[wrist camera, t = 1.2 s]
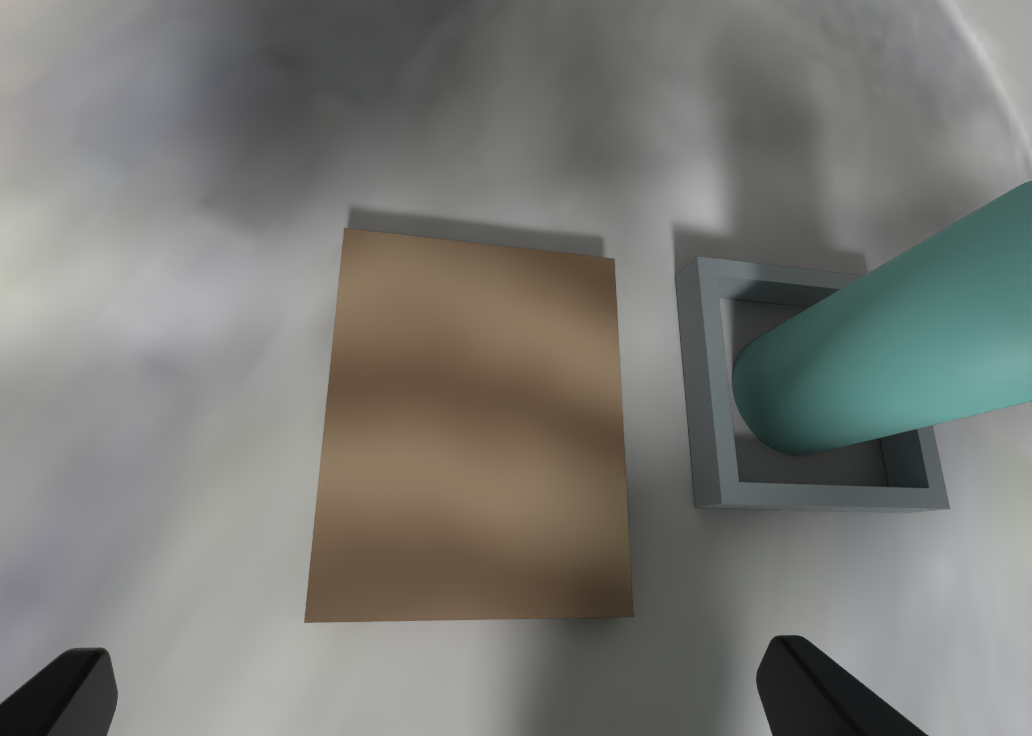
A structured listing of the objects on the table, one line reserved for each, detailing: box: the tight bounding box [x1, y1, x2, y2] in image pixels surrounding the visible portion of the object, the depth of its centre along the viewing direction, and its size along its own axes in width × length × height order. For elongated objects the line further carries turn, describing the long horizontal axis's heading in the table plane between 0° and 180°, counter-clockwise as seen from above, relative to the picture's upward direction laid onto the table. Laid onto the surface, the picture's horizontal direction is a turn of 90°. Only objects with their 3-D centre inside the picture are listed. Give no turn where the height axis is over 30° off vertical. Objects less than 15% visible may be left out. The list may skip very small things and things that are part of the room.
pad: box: [304, 228, 633, 623], centre depth 23 cm, size 14×11×1 cm
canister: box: [733, 181, 1032, 456], centre depth 21 cm, size 6×6×12 cm
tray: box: [675, 256, 950, 513], centre depth 26 cm, size 10×10×2 cm
